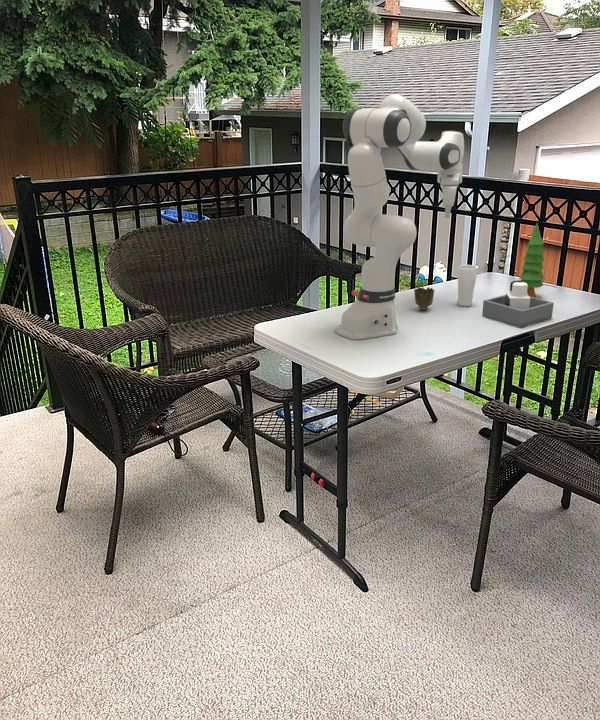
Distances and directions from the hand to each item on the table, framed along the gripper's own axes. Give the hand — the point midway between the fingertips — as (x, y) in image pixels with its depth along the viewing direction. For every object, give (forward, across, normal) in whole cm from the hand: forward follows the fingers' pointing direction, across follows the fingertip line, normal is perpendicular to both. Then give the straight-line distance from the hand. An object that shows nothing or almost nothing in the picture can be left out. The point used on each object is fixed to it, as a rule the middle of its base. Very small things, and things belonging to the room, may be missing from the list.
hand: (447, 215), depth 237 cm
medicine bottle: (+32, +16, +26) cm, 45 cm away
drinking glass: (+34, +4, +9) cm, 35 cm away
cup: (+34, +12, -7) cm, 36 cm away
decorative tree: (+33, -11, +34) cm, 49 cm away
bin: (+33, +17, +26) cm, 46 cm away
